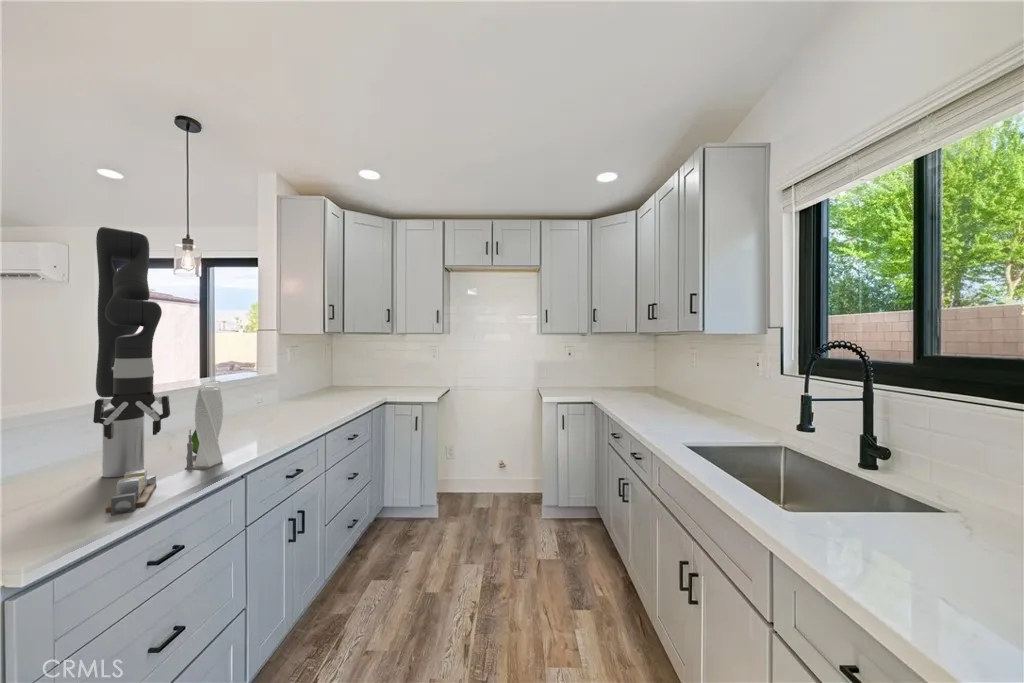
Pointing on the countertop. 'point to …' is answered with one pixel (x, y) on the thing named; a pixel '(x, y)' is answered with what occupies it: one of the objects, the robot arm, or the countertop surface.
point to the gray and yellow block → (133, 483)
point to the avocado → (195, 442)
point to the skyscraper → (207, 428)
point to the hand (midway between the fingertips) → (133, 436)
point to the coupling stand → (131, 499)
